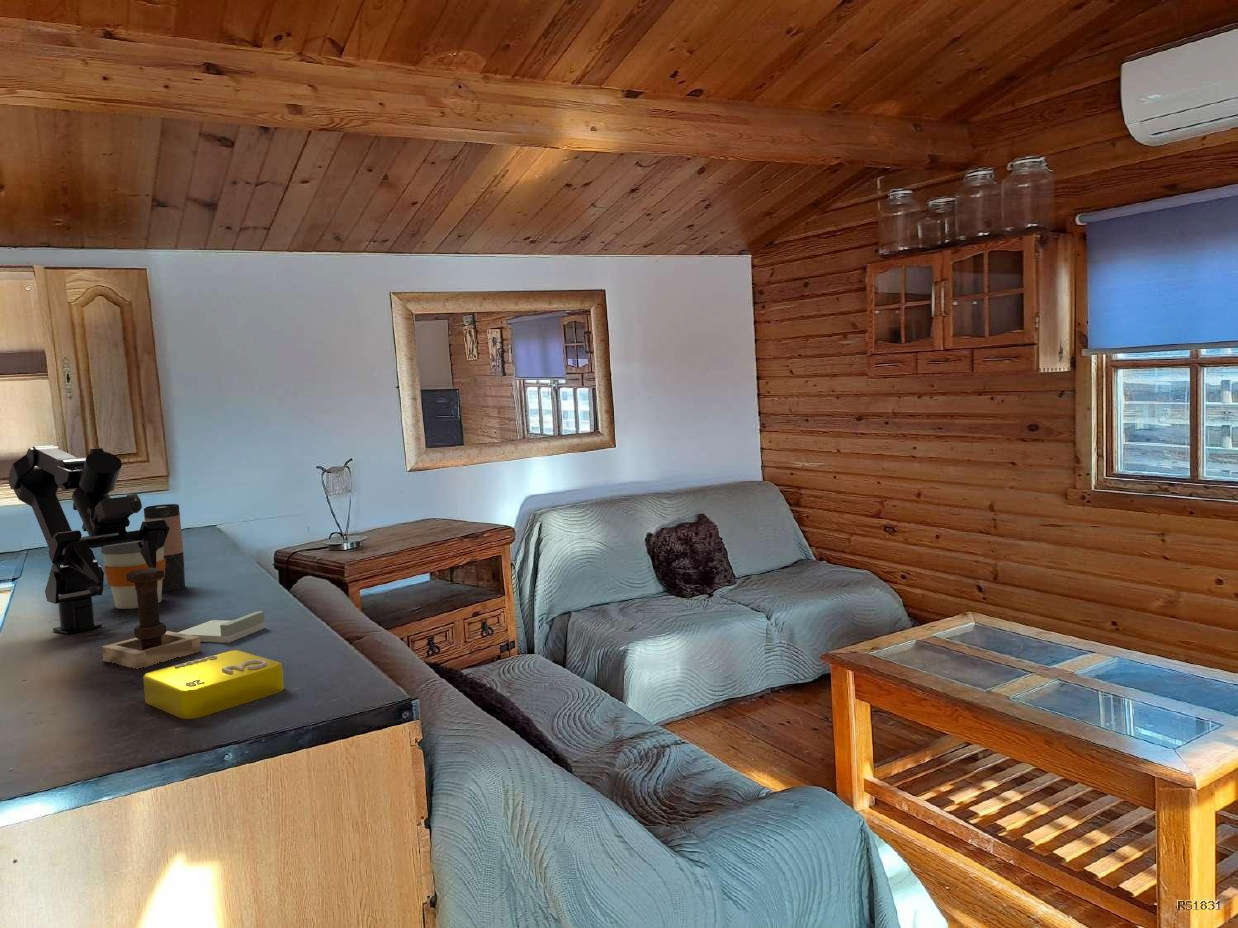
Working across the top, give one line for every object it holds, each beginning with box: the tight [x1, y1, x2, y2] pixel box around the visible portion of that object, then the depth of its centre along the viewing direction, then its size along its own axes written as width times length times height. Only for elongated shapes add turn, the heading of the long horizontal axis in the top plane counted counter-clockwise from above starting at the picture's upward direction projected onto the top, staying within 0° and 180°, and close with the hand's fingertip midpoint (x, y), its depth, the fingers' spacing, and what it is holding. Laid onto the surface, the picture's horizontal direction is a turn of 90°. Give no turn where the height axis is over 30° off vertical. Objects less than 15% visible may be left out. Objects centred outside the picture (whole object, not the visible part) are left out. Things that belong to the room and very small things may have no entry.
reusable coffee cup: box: [100, 542, 166, 610], centre depth 193 cm, size 13×13×15 cm
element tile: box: [142, 649, 285, 720], centre depth 128 cm, size 15×15×5 cm
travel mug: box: [143, 503, 186, 593], centre depth 208 cm, size 8×8×20 cm
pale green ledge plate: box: [177, 610, 266, 644], centre depth 163 cm, size 12×10×3 cm
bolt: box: [126, 568, 168, 650], centre depth 150 cm, size 6×5×15 cm
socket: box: [101, 630, 202, 670], centre depth 151 cm, size 11×11×2 cm
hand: (127, 575), depth 154 cm, fingers open, 9 cm apart
